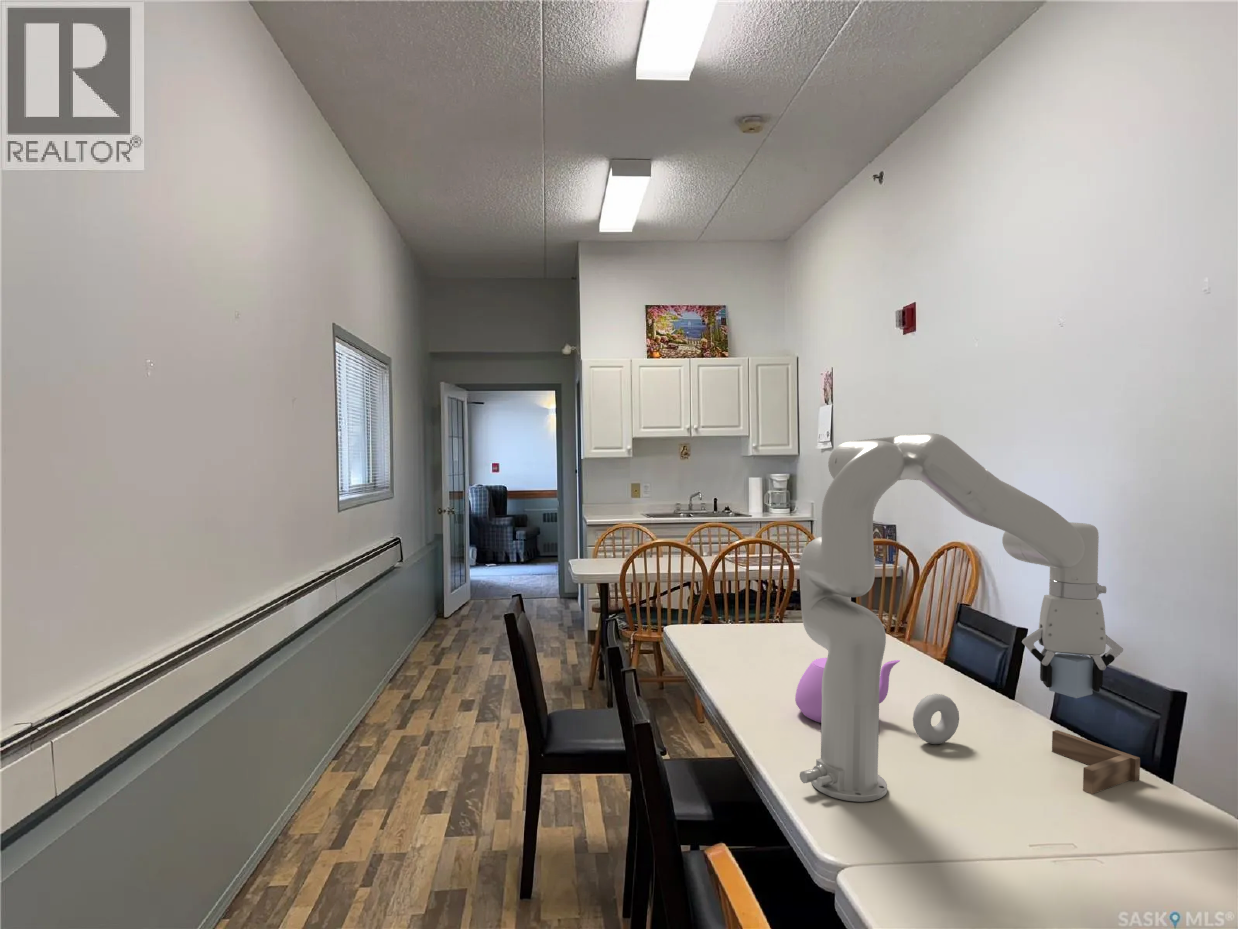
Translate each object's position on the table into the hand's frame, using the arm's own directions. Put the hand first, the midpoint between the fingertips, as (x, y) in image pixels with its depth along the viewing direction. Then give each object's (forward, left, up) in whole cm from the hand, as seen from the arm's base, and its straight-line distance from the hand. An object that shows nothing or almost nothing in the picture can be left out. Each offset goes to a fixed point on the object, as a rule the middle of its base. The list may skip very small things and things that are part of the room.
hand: (1070, 686), depth 139 cm
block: (0, 0, -1) cm, 1 cm away
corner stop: (+1, -1, -15) cm, 16 cm away
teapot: (-16, +39, -16) cm, 45 cm away
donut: (-11, +20, -16) cm, 28 cm away
